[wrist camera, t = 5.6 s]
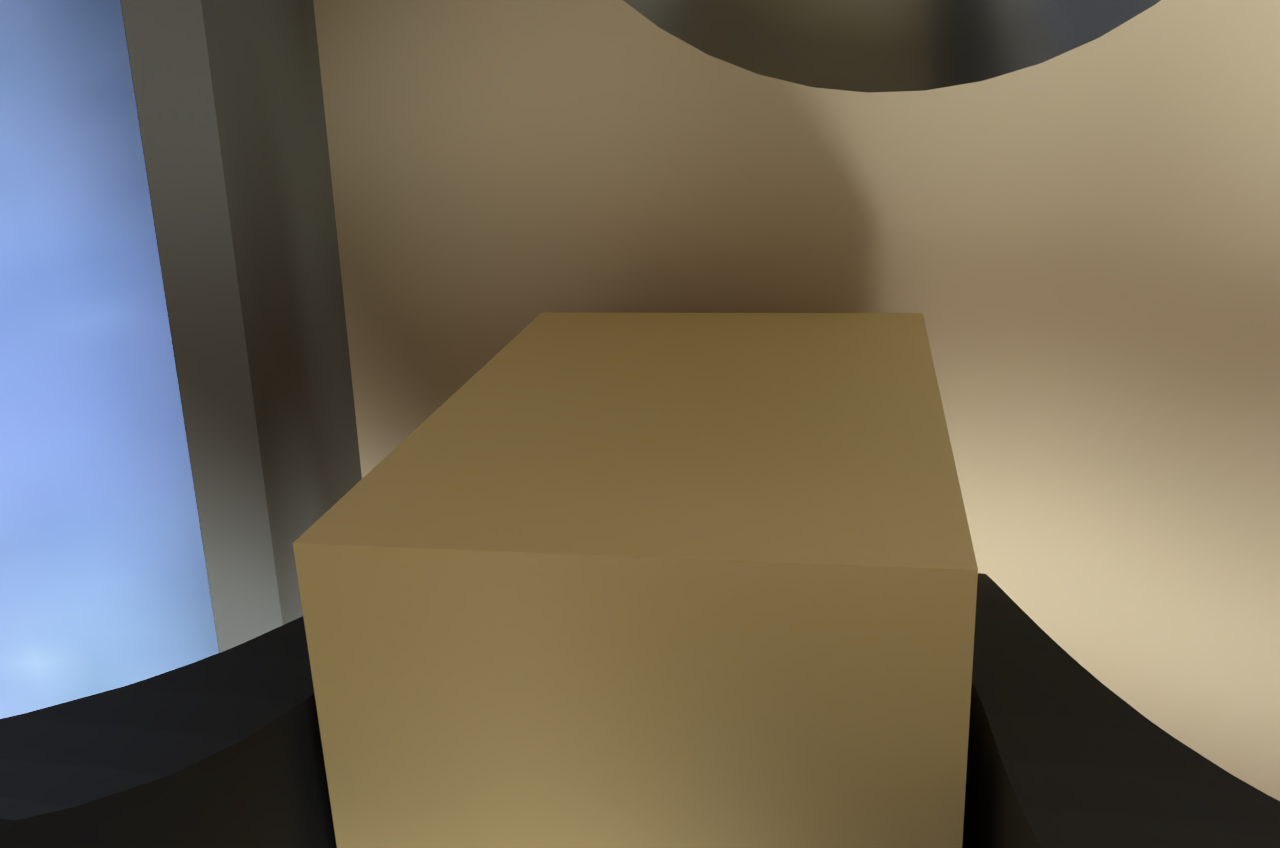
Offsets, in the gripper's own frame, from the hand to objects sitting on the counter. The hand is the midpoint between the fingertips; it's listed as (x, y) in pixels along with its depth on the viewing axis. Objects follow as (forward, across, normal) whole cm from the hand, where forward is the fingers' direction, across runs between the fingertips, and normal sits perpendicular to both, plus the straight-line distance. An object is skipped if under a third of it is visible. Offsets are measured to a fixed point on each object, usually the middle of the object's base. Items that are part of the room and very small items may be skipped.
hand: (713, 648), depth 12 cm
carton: (+2, 0, 0) cm, 2 cm away
